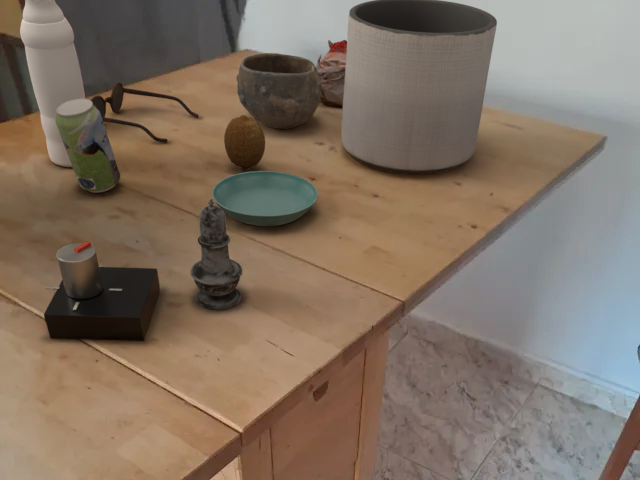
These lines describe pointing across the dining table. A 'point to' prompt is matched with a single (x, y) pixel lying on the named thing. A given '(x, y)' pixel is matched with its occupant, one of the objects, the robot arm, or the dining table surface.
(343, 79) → the food item
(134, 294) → the dial base
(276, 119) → the bowl
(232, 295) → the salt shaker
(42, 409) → the dining table surface
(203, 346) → the dining table surface
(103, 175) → the beverage can
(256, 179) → the saucer
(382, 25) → the planter
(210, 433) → the dining table surface
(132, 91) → the eyeglasses
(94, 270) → the hob knob
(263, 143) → the fruit
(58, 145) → the water bottle
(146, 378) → the dining table surface
